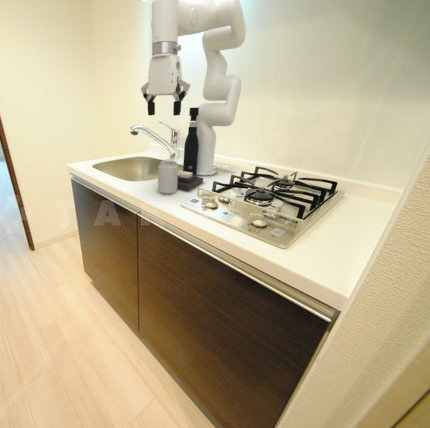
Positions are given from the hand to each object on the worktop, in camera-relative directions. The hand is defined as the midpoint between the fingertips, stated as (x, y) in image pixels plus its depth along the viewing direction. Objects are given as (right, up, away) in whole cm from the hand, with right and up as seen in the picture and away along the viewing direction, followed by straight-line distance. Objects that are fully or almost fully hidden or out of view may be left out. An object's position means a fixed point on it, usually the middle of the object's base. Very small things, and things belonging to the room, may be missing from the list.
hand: (163, 115), depth 75 cm
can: (+3, -24, +16) cm, 29 cm away
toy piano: (+11, -20, +23) cm, 33 cm away
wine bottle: (+16, -14, +36) cm, 41 cm away
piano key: (+11, -17, +22) cm, 30 cm away
